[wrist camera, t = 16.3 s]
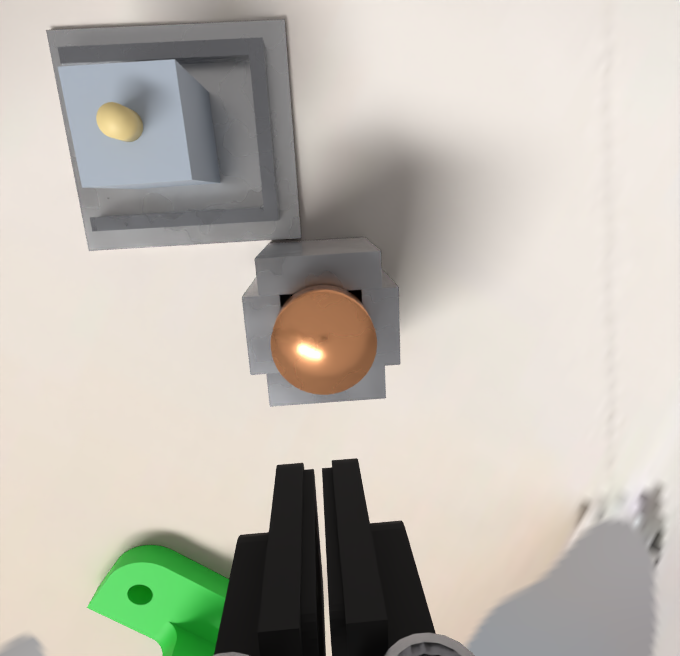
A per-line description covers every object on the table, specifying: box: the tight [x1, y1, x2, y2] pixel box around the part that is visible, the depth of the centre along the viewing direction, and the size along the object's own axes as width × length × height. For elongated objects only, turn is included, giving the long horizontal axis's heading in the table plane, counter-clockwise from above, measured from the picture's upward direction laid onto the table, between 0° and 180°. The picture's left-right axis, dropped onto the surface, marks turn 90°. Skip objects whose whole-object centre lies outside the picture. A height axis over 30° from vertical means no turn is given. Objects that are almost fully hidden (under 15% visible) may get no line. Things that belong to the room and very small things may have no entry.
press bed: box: [46, 19, 301, 251], centre depth 28 cm, size 13×12×2 cm
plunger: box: [271, 285, 377, 395], centre depth 26 cm, size 5×5×8 cm
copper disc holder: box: [242, 237, 400, 406], centre depth 28 cm, size 8×8×8 cm
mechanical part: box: [87, 545, 229, 656], centre depth 34 cm, size 12×6×8 cm, turn 55°
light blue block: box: [58, 59, 220, 189], centre depth 24 cm, size 5×5×8 cm
